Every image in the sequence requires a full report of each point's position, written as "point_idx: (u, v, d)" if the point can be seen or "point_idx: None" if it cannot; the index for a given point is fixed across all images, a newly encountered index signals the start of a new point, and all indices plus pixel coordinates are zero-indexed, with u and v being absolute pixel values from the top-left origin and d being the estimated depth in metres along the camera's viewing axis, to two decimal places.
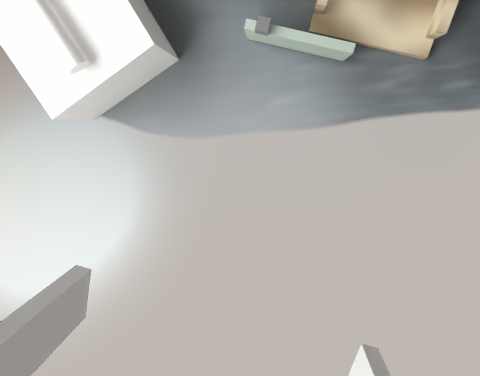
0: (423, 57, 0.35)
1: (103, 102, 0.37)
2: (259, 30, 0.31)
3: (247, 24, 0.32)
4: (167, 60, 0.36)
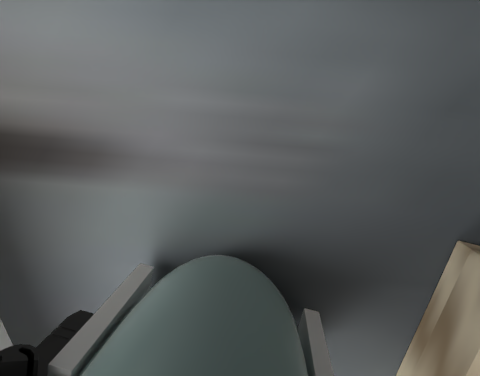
0: None
1: None
2: None
3: None
4: None
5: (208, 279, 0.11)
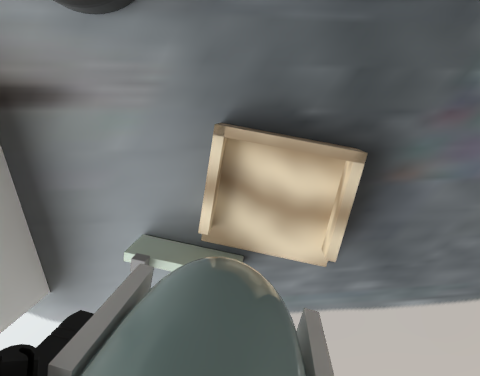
0: None
1: None
2: None
3: (126, 257, 0.30)
4: None
5: (206, 281, 0.11)
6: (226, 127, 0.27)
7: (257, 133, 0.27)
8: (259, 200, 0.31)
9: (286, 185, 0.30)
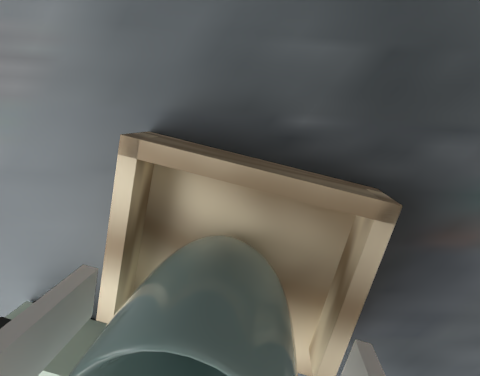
0: None
1: None
2: None
3: None
4: None
5: (209, 251, 0.13)
6: (141, 141, 0.15)
7: (198, 156, 0.14)
8: None
9: (253, 243, 0.18)
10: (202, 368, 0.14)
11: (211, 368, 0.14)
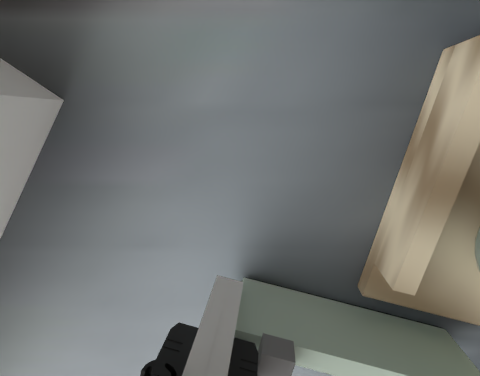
0: None
1: None
2: None
3: None
4: None
5: None
6: None
7: None
8: None
9: None
10: None
11: None
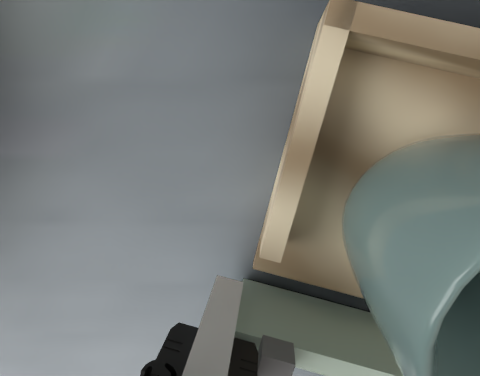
0: None
1: None
2: None
3: None
4: None
5: None
6: (360, 5, 0.11)
7: (438, 22, 0.11)
8: None
9: None
10: (459, 298, 0.10)
11: (471, 298, 0.10)
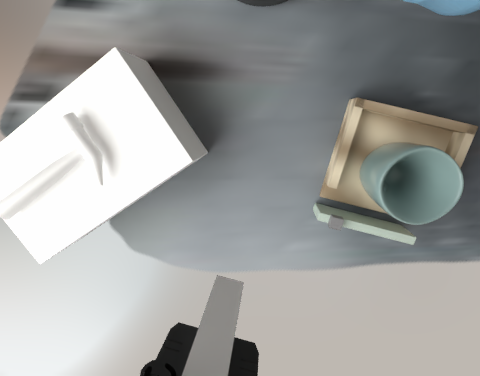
0: None
1: None
2: (333, 228, 0.36)
3: (320, 217, 0.37)
4: None
5: None
6: (366, 100, 0.34)
7: (391, 106, 0.34)
8: None
9: None
10: (396, 192, 0.34)
11: (400, 192, 0.34)
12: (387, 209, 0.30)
